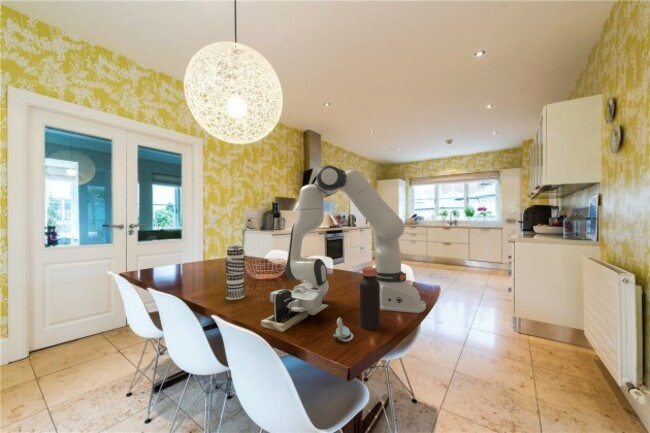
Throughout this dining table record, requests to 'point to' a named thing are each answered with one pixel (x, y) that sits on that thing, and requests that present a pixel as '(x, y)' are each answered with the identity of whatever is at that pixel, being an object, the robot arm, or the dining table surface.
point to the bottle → (369, 300)
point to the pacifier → (342, 331)
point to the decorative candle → (235, 272)
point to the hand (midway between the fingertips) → (281, 304)
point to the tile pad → (310, 311)
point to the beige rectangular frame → (287, 324)
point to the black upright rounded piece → (281, 305)
